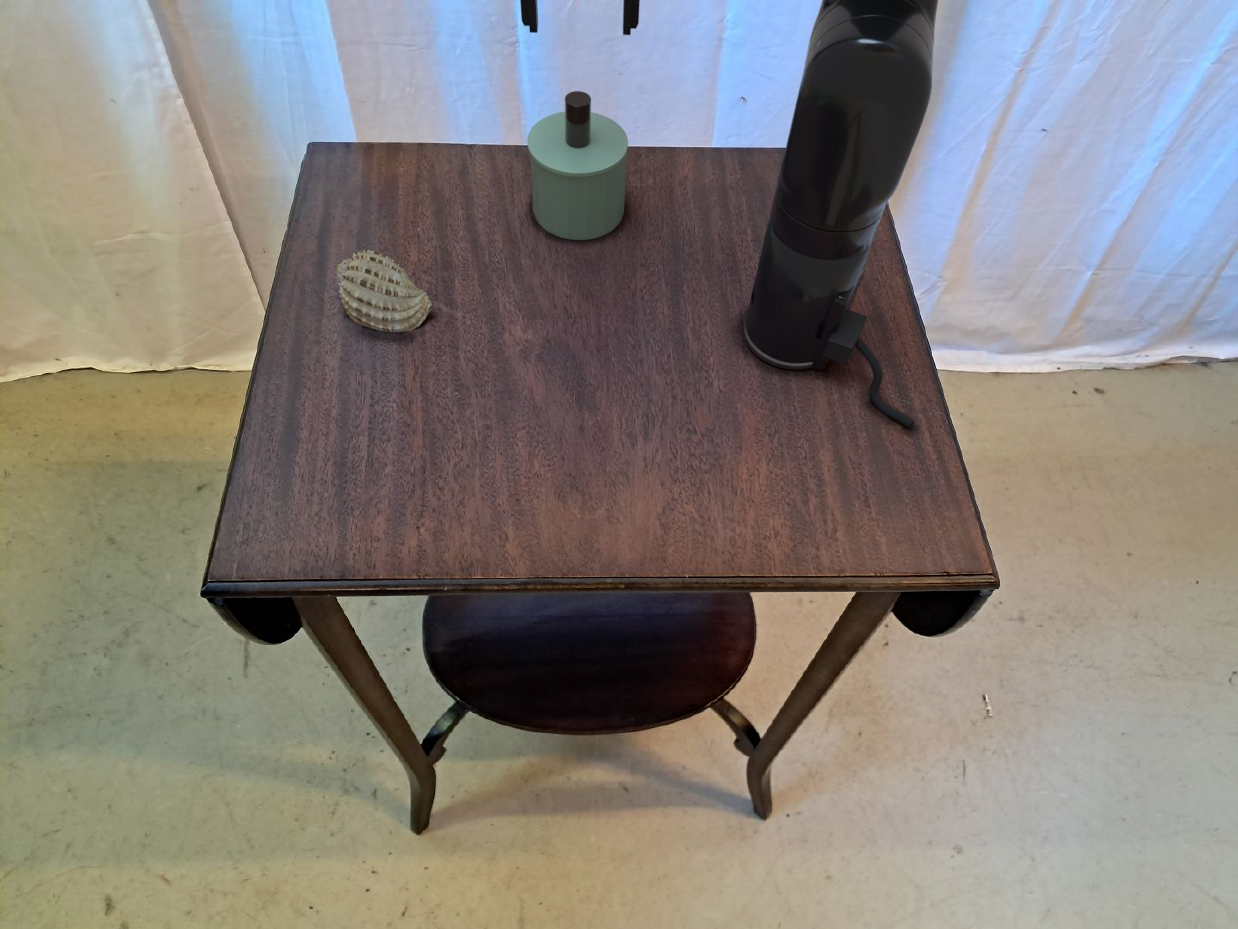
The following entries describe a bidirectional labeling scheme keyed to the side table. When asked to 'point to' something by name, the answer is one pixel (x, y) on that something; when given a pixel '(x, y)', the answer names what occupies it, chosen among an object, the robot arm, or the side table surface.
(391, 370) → the side table surface
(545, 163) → the lid
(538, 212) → the pot
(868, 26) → the robot arm
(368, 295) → the seashell
